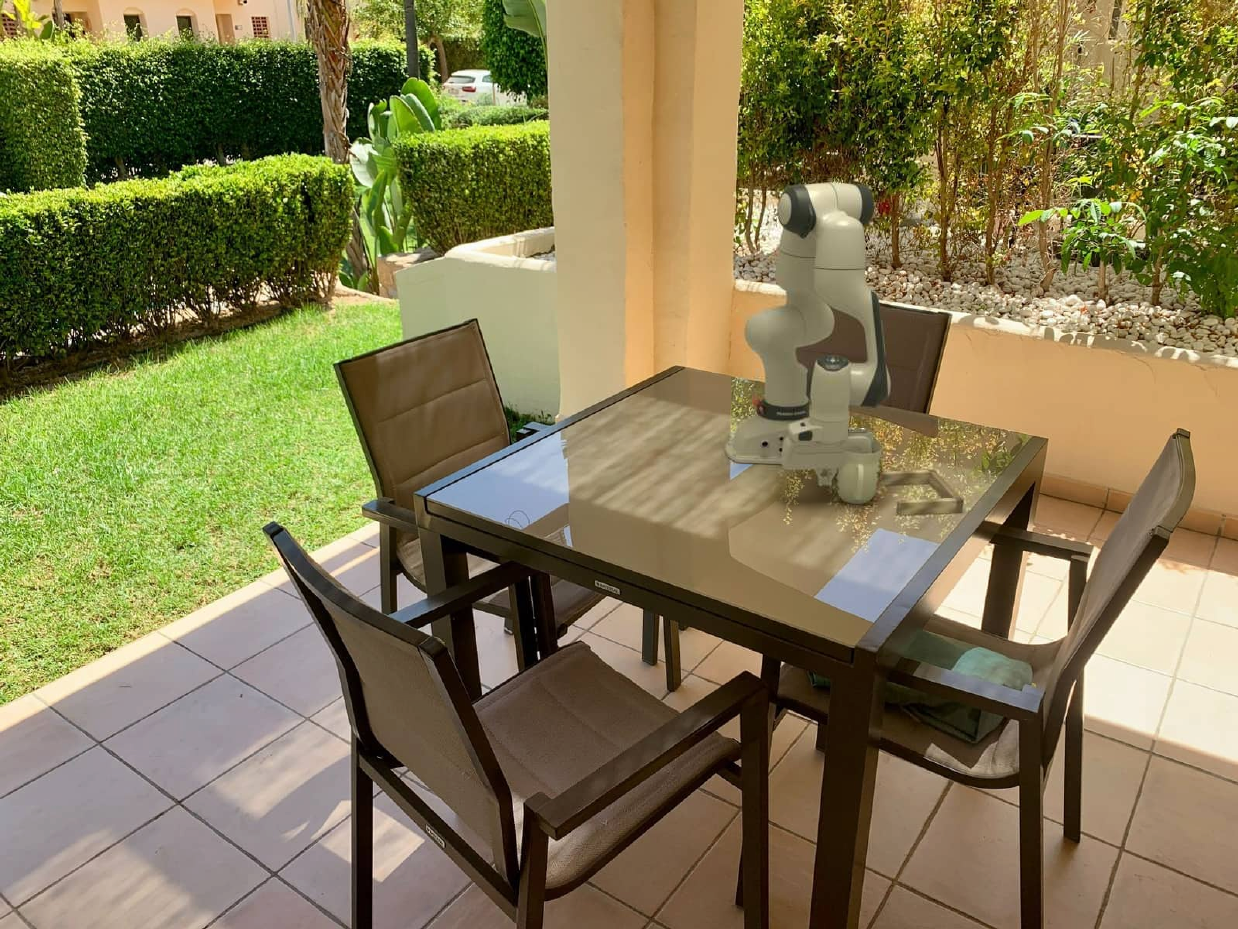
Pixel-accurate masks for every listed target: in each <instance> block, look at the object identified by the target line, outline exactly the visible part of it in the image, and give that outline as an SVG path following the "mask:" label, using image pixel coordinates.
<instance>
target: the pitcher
mask: <svg viewBox="0 0 1238 929" xmlns="http://www.w3.org/2000/svg"><path fill="white" fill-rule="evenodd" d="M871 448H872V453H871V454H857V453H851V452H847V451H844V450H843V452H844V453H845V458H846V463H845V465H844V466H843V468H837V473H836V475H835V476H834V477H833V479H832V481H833V484H834V487H835V490H836V493H837V495H838V496H839V498H840V499H841V500H842V501H843V502H845V503H848V504H853V505H863V504H867V503H869V502H870V500H872V498H874V496H875V495H876V493H877V491H878V489H879V487H880V486H879V485H880V482H881V478H882V472H883V463H882V460H881V457H882V452H883V450H884V446H883V444H882V443H881V442H880V441H878V440H876V439H873V443H872V444H871Z"/></svg>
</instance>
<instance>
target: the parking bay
mask: <svg viewBox="0 0 1238 929" xmlns="http://www.w3.org/2000/svg"><path fill="white" fill-rule="evenodd" d="M907 485H908V486H909V485H910V486H911V485H929V486H931V487H932V488H933V490H934V491H935V490H936V491H935V492H936V493H937V494H938V493H939V494H938V496H940V497H941V498H926V499H925V498H924V499H898V500H896V508H895V509H896V511H895V514H896V515H897V516H914V515H935V514H937V515H939V514H940V515H941V514H960V513H959V512H962V513H963V508H964V501H965V500H964V499H963V498H962V497H961V496H960V495H959V493H957V492H956V491H955V490H954V488H953V487H951V485H950V484H949V483H948V482H947V481H946V480H945V479H944V478H943V477H942V476H941V475H940V473H939V472H937V470H935V469H919V470H917V469H916V470H897V471H896V470H894V471H893V470H892V471H891V470H890V471H882V478H881V482H880V485H879V487H881V486H884V487H885V486H886V487H887V486H907Z"/></svg>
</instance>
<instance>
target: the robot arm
mask: <svg viewBox="0 0 1238 929" xmlns="http://www.w3.org/2000/svg"><path fill="white" fill-rule="evenodd" d="M872 193H873V192H872V190H871V189H870V188H869V187H868V186H866V185H863V184H860V183H855V182H853V183H852V182H851V183H845V182H844V183H843V182H833V181H832V182H829V181H828V182H821V183H820V182H819V183H809V184H802V183H799V184H794V185H790V186H788V187H786V188H784V190H783V191H782V193H781V194H780V196H779V199H778V203H777V208H776V209H777V218H778V219H777V220H778V221H779V224H780V225H781V226H782V232H781V236H780V240H779V246H778V252H777V257H776V258H777V260H776V266H775V271H774V272H775V273H774V281H775V282H776V284H777V285H778V286H779V287H780V289H782V290H783V291H785V294H786V295H785V296H786V302H785V304H784V305H780V306H775V307H770V308H764V309H763V310H760V311H757V312H755V313H754V314H752V315H751V316H749V317H748V318H747V320H746V322H745V325H744V331H743V332H744V339H745V341H746V343H747V345H748V347H749V348H750V349H751V350H752V351H754V353H756V354H757V355H758V356H759V358H760V361H761V363H762V364H763V369H764V384H765V385H764V387H765V388H764V398H763V399H762V400H761V399H760V398H758V397H755V398H753V400H752V404H753V406H754V407H755V408H756V413H754V414H753V415H752V416H751V417H749V418H748V419H746V420H745V421H743V422H741V423H740V424H739V425H738V426H737V427H736V430H735V433H734V438H733V440H729V441H728V442H727V443H726V444H725V446H724V447H725V448H724V452H725V454H726V456H727V457H728V458H729V459H730V460H732V461H733V462H735V463H740V464H741V463H742V464H764V465H765V464H770V465H781V466H783V468H784V469H785V470H787V471H795V470H796V471H799V470H803V471H804V470H813V471H814V472H815V473H816V475H817V477H818V482H817V483H818V486H819V487H831V486H832V482H833V477H834V476H835V475H836V473H837V468H843V466H844V465H845V463H846V458H845V453H844V452H843V450H844V451H847V452H851V453H857V454H871V453H872V448H871V444H872V443H873V439H874V438H875V437H874V436H875V435H874V431H873V430H871V429H869V428H868V427H866V426H865V427H850V412H849V411H850V410H849V406H859V407H865V408H871V409H875V408H878V407H879V406H880V405H882V404H884V402H886V401H888V399H889V396H890V393H891V377H890V374H889V369H888V366H887V362H886V348H885V338H884V328H883V319H882V314H881V305H880V300H879V296H878V295H877V292H876V291H873V290H871V288H870V287H869V285H868V282H867V279H866V260H867V258H866V256H867V254H866V251H867V250H866V237H865V236H866V235H865V228H866V227H867V226H868V225H869V223H870V222H871V220H872V219H873V217H874V213H875V198H874V196H873V194H872ZM831 308H832V309H835V310H837V311H840V312H842V313H844V314H847V315H849V316H851V317H853V318H855V319H856V320H858V321H859V322H860V324H861V325H862V326H863V329H864V334H865V336H864V337H865V343H866V344H865V346H866V353H867V360H866V361H865V362H862V363H861V362H850V360H849V359H848V358H846V357H844V356H842V355H837V354H827V355H823V356H820V357H818V358H817V359H816V360H815V362H814V365H812V366H811V367H810V368H809V369H808V368H807V367H806V366H805V365H804V364H802V363H800V362H798V360H797V359H798V358H797V352H796V351H797V348H801V347H807V346H811V345H815V344H816V343H819V342H821V341H823V340H824V339H827V338H828V337H829V336H831V334H832V333H833V330H834V328H835V315H834V312H833V311H832V309H831ZM810 402H811V404H810ZM824 469H825V470H827V469H828V470H829V472H828V474H827V476H822V475H821V474H822V473H823V470H824Z"/></svg>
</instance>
